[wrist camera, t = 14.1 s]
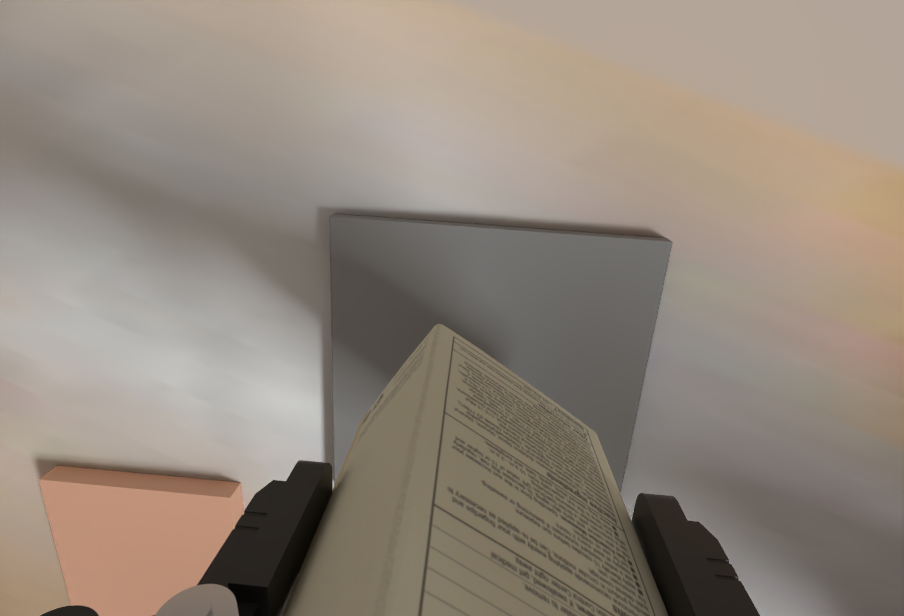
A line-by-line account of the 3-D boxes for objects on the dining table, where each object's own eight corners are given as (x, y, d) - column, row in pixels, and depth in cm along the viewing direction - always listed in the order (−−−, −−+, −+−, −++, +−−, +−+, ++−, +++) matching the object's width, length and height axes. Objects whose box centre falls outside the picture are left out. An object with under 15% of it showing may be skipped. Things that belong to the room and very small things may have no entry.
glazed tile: (230, 497, 20) (38, 479, 21) (246, 642, 23) (76, 624, 23) (245, 475, 22) (65, 458, 22) (259, 614, 24) (98, 598, 25)
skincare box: (359, 419, 16) (7, 1182, 4) (442, 311, 14) (254, 1007, 3) (519, 524, 17) (579, 1393, 5) (612, 432, 15) (973, 1335, 4)
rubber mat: (666, 238, 17) (672, 242, 16) (611, 510, 20) (614, 521, 20) (335, 213, 17) (329, 216, 17) (338, 483, 21) (334, 493, 20)
